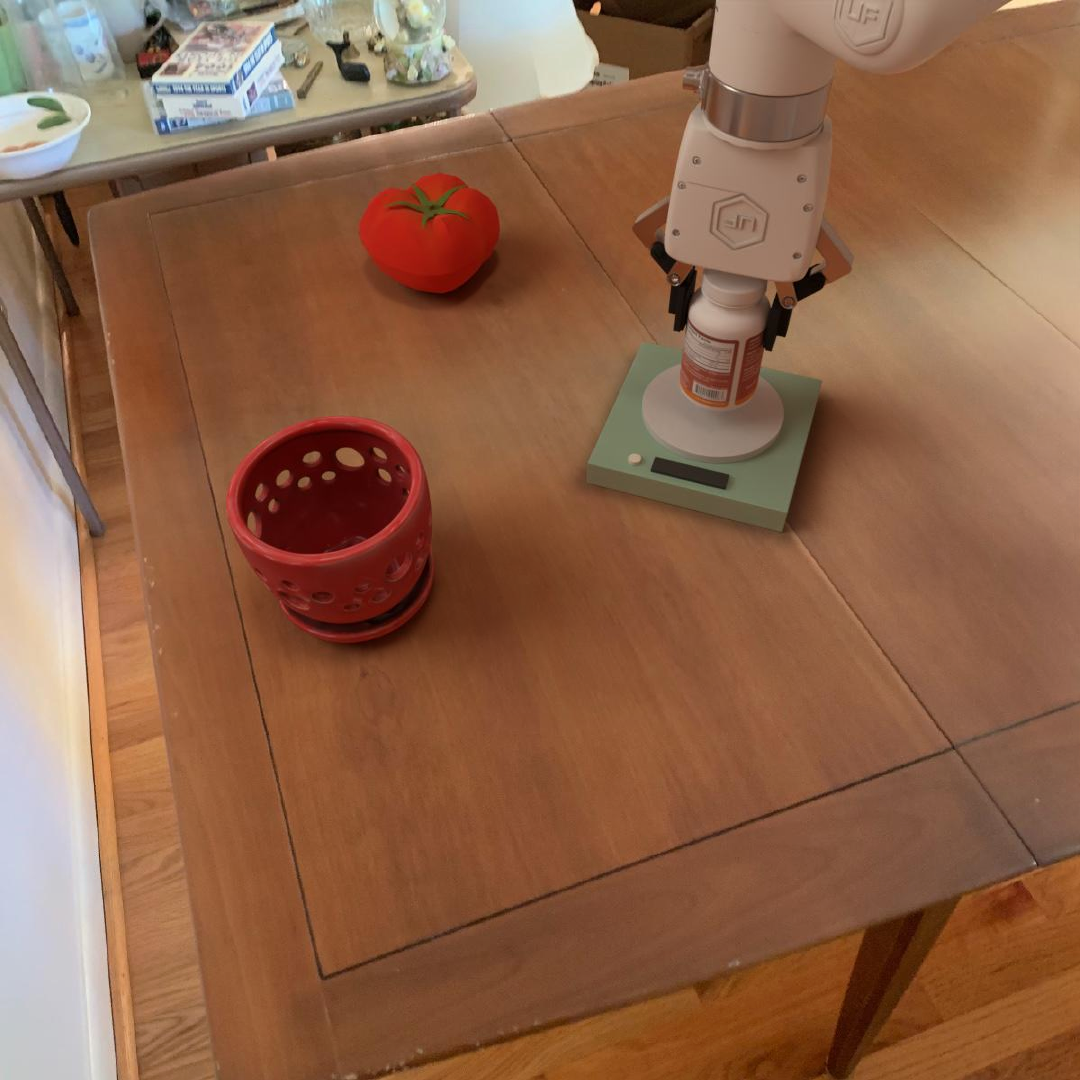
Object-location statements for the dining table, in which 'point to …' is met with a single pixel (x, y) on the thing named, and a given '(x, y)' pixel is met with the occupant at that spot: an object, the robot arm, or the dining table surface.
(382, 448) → the flower pot
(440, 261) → the tomato
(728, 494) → the scale
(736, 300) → the pill bottle
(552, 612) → the dining table surface
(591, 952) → the dining table surface
